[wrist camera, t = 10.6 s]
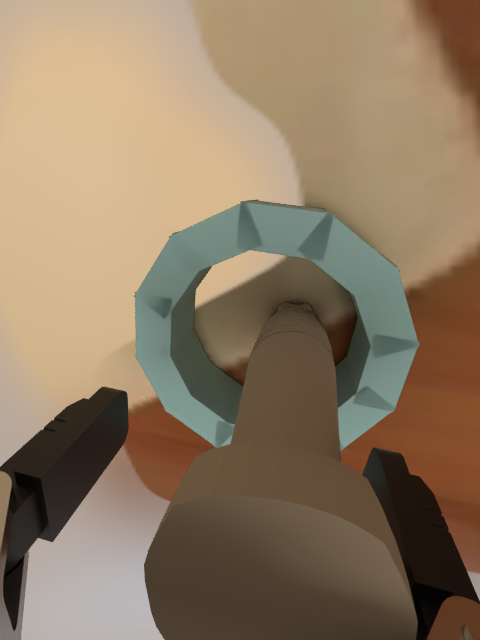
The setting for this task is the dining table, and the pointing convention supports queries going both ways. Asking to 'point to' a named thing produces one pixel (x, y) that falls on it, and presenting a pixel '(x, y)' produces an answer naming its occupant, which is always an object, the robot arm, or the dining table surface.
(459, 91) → the dining table surface
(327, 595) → the handle
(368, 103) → the dining table surface
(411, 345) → the notched ring
